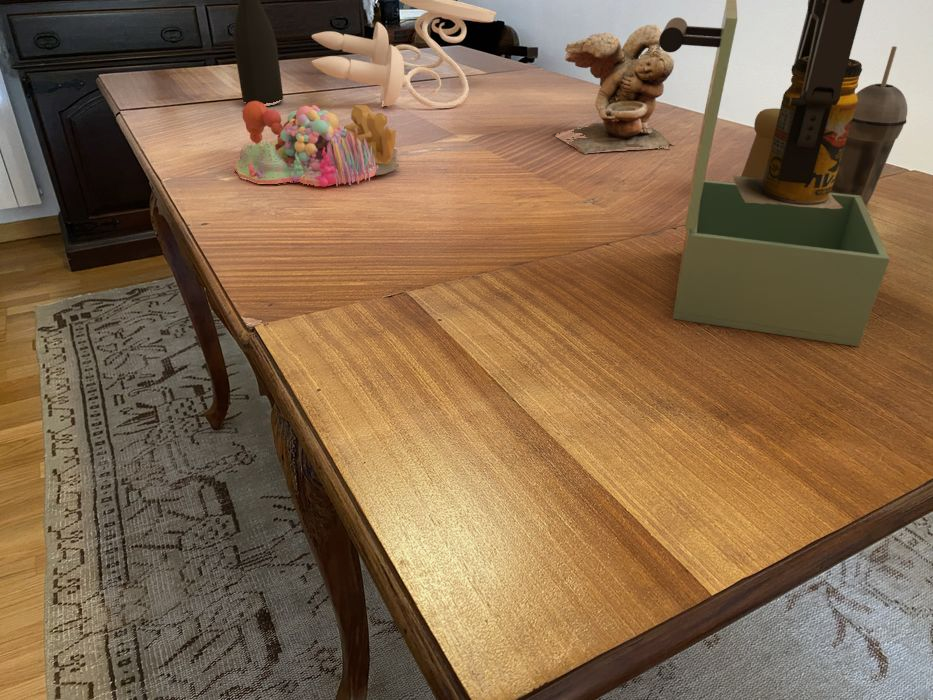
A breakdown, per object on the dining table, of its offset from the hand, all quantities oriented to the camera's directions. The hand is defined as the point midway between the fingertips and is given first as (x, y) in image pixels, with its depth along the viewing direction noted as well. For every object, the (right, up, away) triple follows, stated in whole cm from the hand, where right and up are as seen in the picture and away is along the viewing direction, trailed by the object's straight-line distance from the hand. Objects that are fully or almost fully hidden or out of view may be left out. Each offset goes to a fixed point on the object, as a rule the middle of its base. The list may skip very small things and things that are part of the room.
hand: (791, 169), depth 66 cm
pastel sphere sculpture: (-53, +11, +43) cm, 69 cm away
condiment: (0, -2, +1) cm, 3 cm away
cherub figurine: (-5, +20, +57) cm, 60 cm away
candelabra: (-43, +41, +90) cm, 108 cm away
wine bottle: (-71, +33, +77) cm, 110 cm away
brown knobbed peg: (+11, +6, +34) cm, 36 cm away
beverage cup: (+21, +2, +29) cm, 36 cm away
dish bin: (0, -11, +7) cm, 13 cm away
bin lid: (-7, +5, -1) cm, 9 cm away
